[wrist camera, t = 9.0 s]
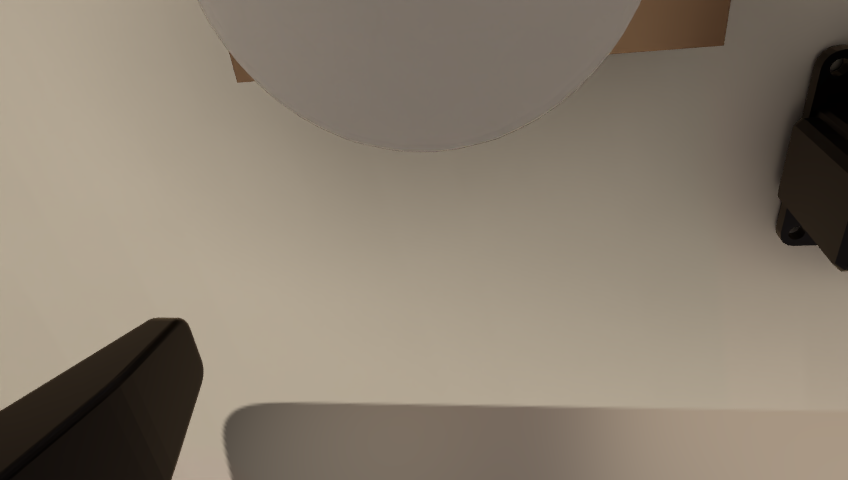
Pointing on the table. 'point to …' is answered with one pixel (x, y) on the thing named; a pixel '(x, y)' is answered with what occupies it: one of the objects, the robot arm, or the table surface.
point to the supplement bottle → (420, 62)
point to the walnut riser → (652, 28)
